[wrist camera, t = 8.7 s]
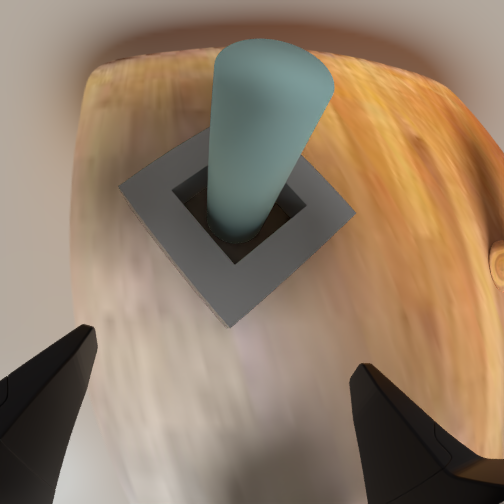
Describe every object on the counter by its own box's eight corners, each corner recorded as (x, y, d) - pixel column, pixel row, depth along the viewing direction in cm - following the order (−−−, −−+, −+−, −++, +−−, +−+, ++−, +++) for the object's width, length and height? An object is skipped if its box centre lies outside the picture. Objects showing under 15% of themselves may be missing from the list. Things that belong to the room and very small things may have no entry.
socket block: (338, 228, 21) (356, 213, 19) (226, 328, 18) (230, 328, 15) (243, 129, 23) (248, 105, 20) (128, 205, 19) (118, 186, 17)
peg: (274, 220, 21) (355, 88, 8) (232, 255, 20) (275, 131, 7) (238, 181, 21) (276, 30, 9) (195, 212, 20) (189, 59, 8)
